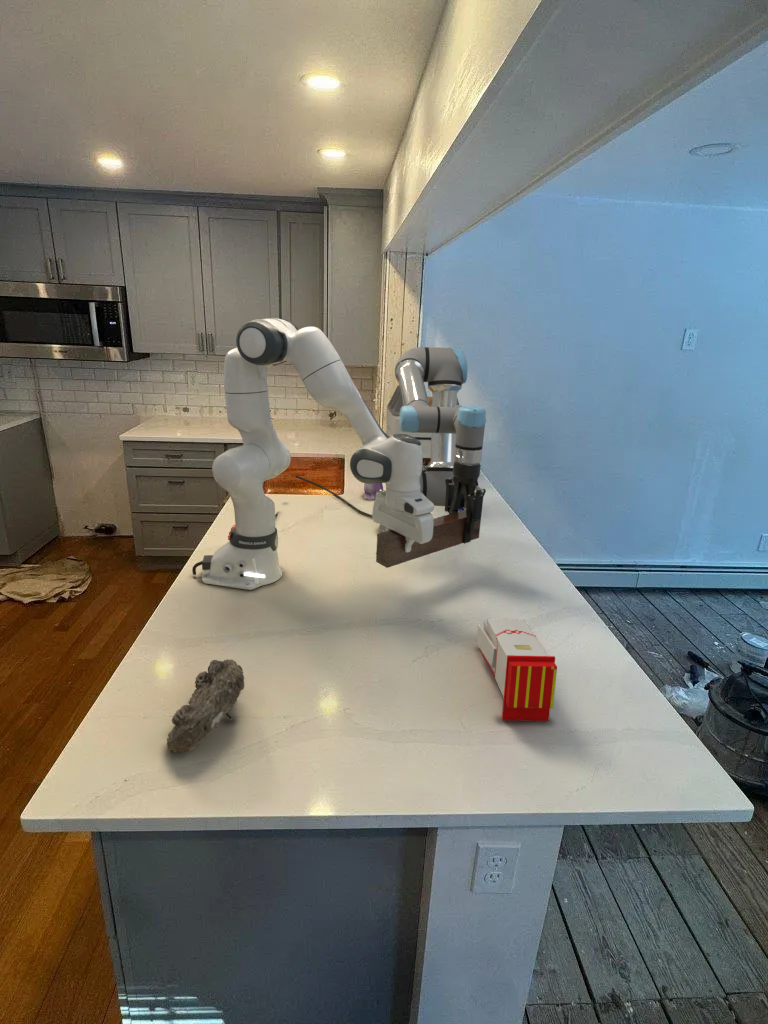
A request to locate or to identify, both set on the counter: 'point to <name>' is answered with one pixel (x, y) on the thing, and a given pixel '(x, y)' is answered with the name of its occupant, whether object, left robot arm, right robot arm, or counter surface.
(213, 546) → the counter surface
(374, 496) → the figurine
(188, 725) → the fossil
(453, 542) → the walnut beam
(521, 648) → the toy
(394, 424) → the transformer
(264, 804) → the counter surface
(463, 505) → the figurine character
